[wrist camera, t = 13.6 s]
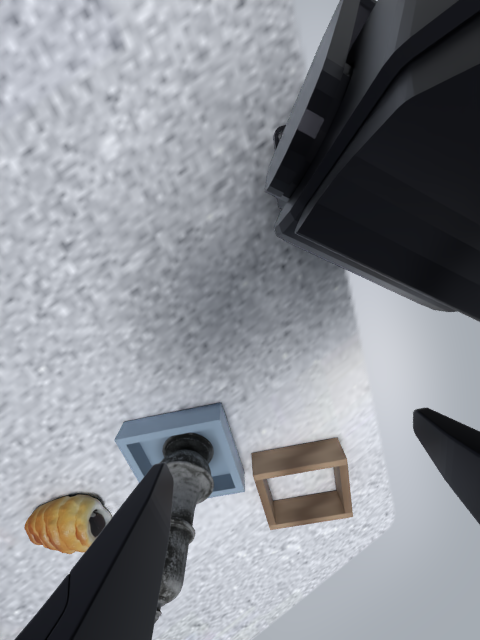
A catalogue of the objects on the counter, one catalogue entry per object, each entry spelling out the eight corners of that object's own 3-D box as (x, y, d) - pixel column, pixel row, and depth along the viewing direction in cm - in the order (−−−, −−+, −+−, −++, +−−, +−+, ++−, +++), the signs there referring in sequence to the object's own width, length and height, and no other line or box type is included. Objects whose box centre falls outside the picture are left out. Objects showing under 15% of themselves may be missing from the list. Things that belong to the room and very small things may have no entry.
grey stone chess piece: (224, 437, 26) (215, 607, 15) (207, 475, 28) (188, 649, 17) (166, 423, 25) (111, 592, 14) (154, 463, 27) (97, 638, 16)
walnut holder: (337, 437, 27) (346, 458, 24) (343, 493, 30) (352, 516, 28) (251, 453, 27) (253, 475, 25) (267, 506, 31) (270, 530, 28)
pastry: (51, 532, 33) (28, 571, 29) (22, 498, 30) (-6, 536, 27) (120, 521, 32) (105, 559, 28) (97, 486, 29) (77, 522, 26)
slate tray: (221, 402, 25) (219, 419, 23) (244, 471, 28) (244, 491, 26) (124, 422, 25) (114, 440, 23) (159, 486, 29) (153, 507, 27)
